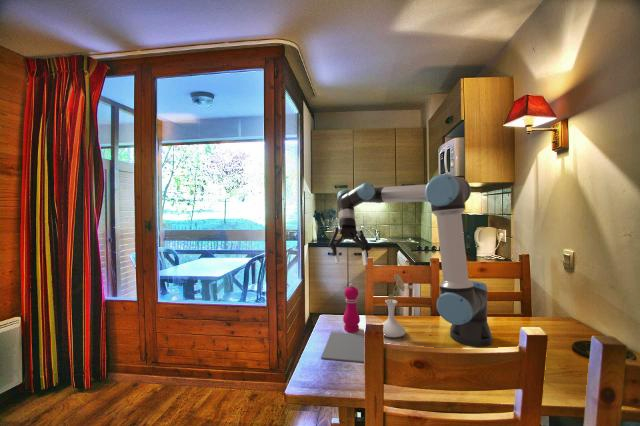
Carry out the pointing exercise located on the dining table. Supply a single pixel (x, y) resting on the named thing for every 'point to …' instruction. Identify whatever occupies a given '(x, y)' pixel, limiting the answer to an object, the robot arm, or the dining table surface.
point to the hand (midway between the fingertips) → (351, 263)
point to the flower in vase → (391, 324)
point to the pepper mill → (351, 310)
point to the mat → (344, 347)
